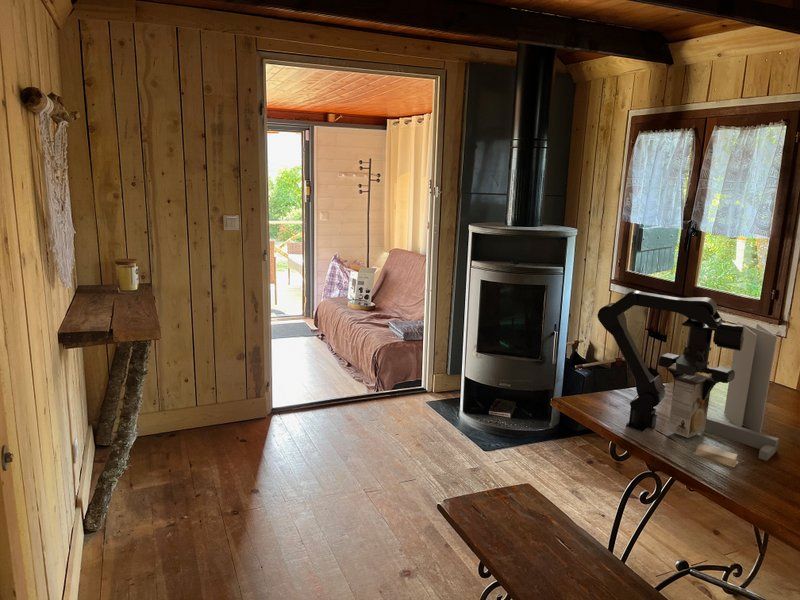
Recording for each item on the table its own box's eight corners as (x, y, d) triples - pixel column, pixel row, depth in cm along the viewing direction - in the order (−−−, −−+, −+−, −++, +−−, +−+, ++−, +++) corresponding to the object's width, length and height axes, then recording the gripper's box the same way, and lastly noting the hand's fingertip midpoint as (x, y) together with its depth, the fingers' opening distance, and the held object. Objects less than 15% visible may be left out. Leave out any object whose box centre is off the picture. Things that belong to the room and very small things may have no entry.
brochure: (760, 434, 170) (777, 336, 164) (739, 432, 171) (755, 335, 165) (743, 415, 184) (757, 323, 177) (724, 413, 185) (738, 322, 178)
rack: (691, 439, 167) (693, 423, 165) (702, 431, 172) (705, 415, 171) (766, 464, 153) (769, 447, 152) (775, 455, 158) (778, 438, 157)
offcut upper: (695, 454, 155) (696, 448, 154) (698, 450, 158) (699, 443, 157) (733, 465, 150) (734, 459, 149) (736, 460, 152) (737, 454, 152)
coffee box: (683, 422, 172) (690, 371, 168) (705, 430, 167) (713, 377, 163) (666, 430, 167) (674, 377, 163) (688, 438, 162) (696, 384, 158)
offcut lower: (691, 459, 156) (692, 453, 156) (696, 454, 159) (697, 448, 158) (732, 473, 149) (734, 467, 149) (737, 468, 152) (738, 461, 152)
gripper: (652, 340, 162) (645, 393, 166) (723, 357, 149) (714, 414, 152) (669, 333, 169) (663, 384, 173) (739, 349, 156) (730, 403, 160)
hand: (691, 396), depth 164 cm, fingers closed on coffee box, 6 cm apart
